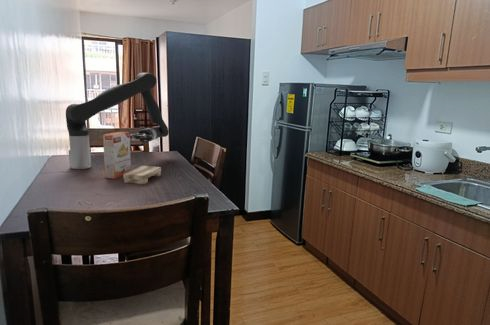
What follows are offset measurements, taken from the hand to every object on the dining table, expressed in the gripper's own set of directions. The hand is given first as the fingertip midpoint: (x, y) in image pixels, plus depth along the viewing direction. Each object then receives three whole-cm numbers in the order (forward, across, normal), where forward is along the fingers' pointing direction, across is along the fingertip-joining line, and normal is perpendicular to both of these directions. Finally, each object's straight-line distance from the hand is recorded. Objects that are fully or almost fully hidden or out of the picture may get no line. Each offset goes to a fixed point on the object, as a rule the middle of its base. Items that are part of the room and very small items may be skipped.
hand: (133, 139), depth 170 cm
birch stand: (+17, +14, +16) cm, 27 cm away
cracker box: (+15, 0, +16) cm, 22 cm away
